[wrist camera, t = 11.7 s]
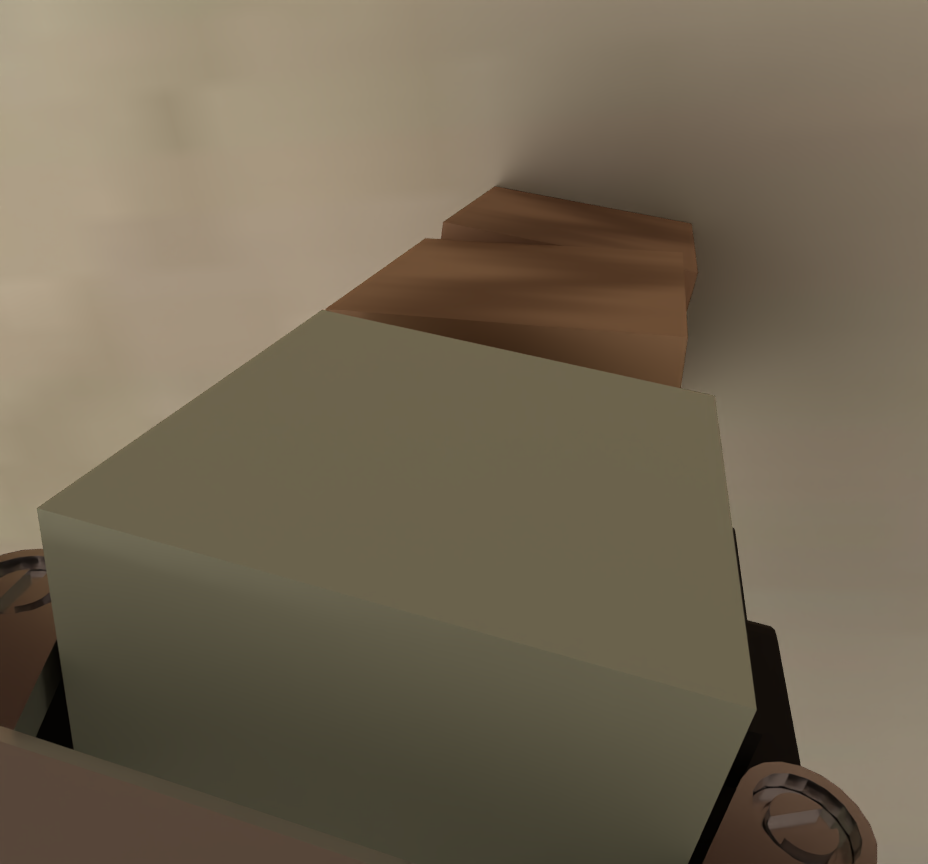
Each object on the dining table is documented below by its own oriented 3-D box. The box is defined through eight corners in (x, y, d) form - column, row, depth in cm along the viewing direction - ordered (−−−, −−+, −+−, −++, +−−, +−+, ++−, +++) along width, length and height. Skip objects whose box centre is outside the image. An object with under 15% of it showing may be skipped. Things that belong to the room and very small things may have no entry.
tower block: (682, 252, 17) (688, 337, 12) (652, 484, 19) (645, 639, 14) (425, 238, 18) (325, 308, 13) (429, 458, 21) (348, 590, 16)
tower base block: (691, 223, 22) (697, 273, 17) (641, 404, 25) (633, 495, 20) (494, 186, 23) (443, 222, 18) (467, 365, 26) (415, 441, 21)
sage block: (714, 395, 11) (755, 710, 5) (617, 696, 13) (584, 1095, 8) (321, 309, 12) (36, 508, 6) (306, 607, 14) (98, 916, 9)
